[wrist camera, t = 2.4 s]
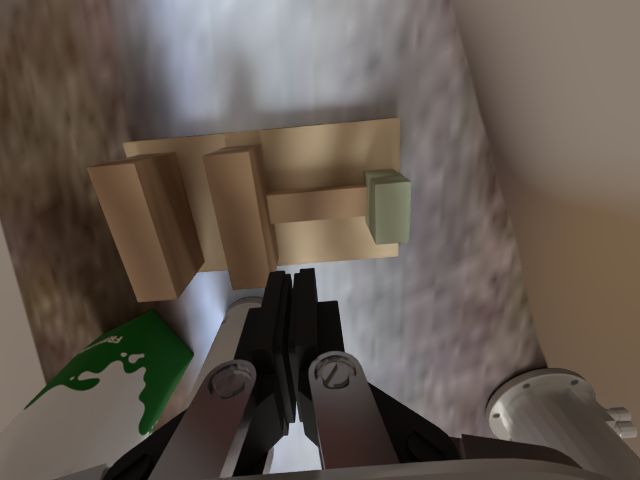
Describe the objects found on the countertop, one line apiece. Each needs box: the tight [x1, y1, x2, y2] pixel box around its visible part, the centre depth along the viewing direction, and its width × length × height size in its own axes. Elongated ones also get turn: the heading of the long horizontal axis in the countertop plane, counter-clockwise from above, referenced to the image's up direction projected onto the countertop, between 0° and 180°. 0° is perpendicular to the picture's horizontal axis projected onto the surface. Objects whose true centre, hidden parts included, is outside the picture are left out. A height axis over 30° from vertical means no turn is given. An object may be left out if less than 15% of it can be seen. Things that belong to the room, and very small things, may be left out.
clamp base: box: [87, 118, 401, 302], centre depth 24 cm, size 22×12×7 cm, turn 95°
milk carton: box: [0, 310, 194, 480], centre depth 24 cm, size 9×9×20 cm
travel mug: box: [182, 297, 263, 412], centre depth 23 cm, size 6×7×20 cm
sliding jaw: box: [202, 144, 411, 290], centre depth 23 cm, size 13×10×5 cm
